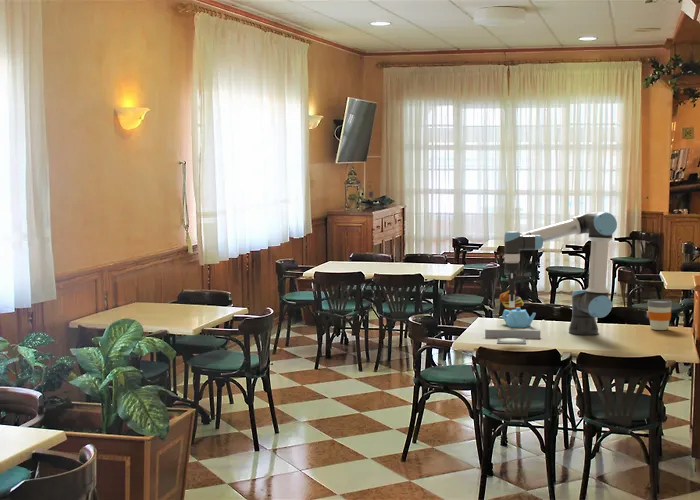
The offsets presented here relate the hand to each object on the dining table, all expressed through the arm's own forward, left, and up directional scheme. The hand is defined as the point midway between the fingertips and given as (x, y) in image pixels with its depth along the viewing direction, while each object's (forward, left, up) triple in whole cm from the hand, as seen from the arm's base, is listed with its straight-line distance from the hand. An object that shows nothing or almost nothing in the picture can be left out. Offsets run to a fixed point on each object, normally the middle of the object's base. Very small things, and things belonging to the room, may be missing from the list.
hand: (512, 305), depth 418 cm
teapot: (-3, -45, -18) cm, 49 cm away
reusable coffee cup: (-78, -46, -18) cm, 92 cm away
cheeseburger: (-1, -1, -2) cm, 2 cm away
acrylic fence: (0, -10, -18) cm, 20 cm away
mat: (0, +1, -18) cm, 18 cm away
